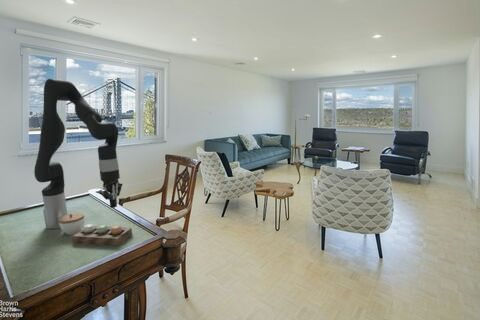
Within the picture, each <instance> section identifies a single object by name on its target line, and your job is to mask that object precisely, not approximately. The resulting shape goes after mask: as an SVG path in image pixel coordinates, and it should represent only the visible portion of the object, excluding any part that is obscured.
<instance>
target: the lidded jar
mask: <svg viewBox="0 0 480 320" xmlns="http://www.w3.org/2000/svg"><path fill="white" fill-rule="evenodd" d="M67 214H68V213H67ZM58 222H59V226H60V228H59V229H60V230H61V232H63V233H64V234H66V235H67V236H68V235H71V236H73V235H75V234H76V233H78V232H80V231H82V230H83V226H85V214H84V213H82V212H74V213H73V212H72V213H69V214H68V215H65V216H62V217H60V218H59V219H58Z"/></svg>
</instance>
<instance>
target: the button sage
mask: <svg viewBox="0 0 480 320" xmlns="http://www.w3.org/2000/svg"><path fill="white" fill-rule="evenodd" d="M97 226H98V227H97V233H98V234H103V233H106V232H108V227H109V226H108V224H101V225H97Z"/></svg>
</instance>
